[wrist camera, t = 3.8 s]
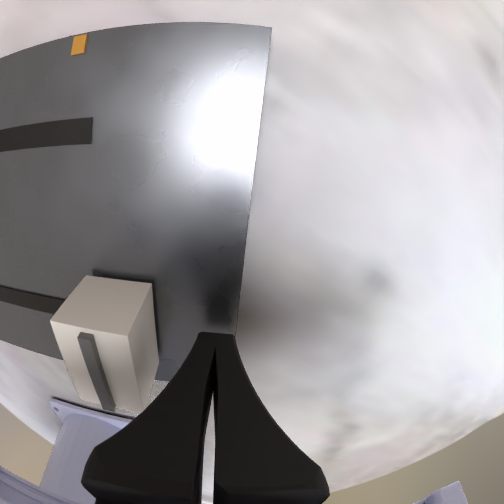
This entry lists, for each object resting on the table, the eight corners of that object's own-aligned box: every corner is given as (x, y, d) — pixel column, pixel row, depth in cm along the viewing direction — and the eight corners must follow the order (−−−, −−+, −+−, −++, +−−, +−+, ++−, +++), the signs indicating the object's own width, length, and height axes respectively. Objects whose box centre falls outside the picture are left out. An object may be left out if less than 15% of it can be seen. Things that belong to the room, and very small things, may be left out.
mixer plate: (230, 371, 15) (229, 389, 14) (-52, 305, 13) (-60, 313, 12) (269, 36, 9) (272, 26, 8) (-81, 107, 7) (-93, 110, 6)
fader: (159, 361, 13) (143, 420, 10) (102, 352, 13) (78, 404, 10) (151, 283, 11) (124, 342, 8) (86, 275, 11) (45, 325, 8)
